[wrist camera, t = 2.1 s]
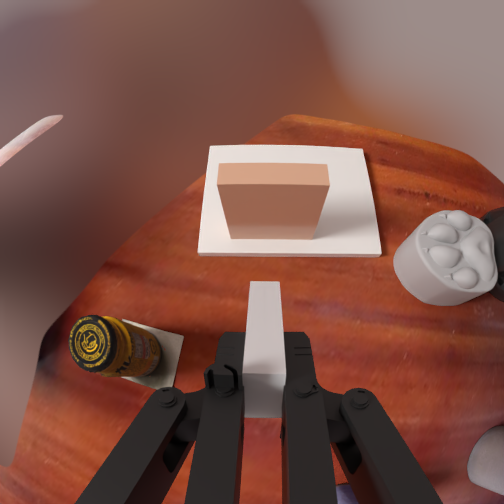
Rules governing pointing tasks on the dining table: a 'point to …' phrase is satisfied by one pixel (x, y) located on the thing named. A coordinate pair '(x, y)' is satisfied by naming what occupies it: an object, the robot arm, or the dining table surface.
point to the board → (332, 216)
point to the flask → (345, 494)
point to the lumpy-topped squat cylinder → (447, 259)
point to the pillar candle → (488, 461)
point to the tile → (272, 199)
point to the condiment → (125, 350)
